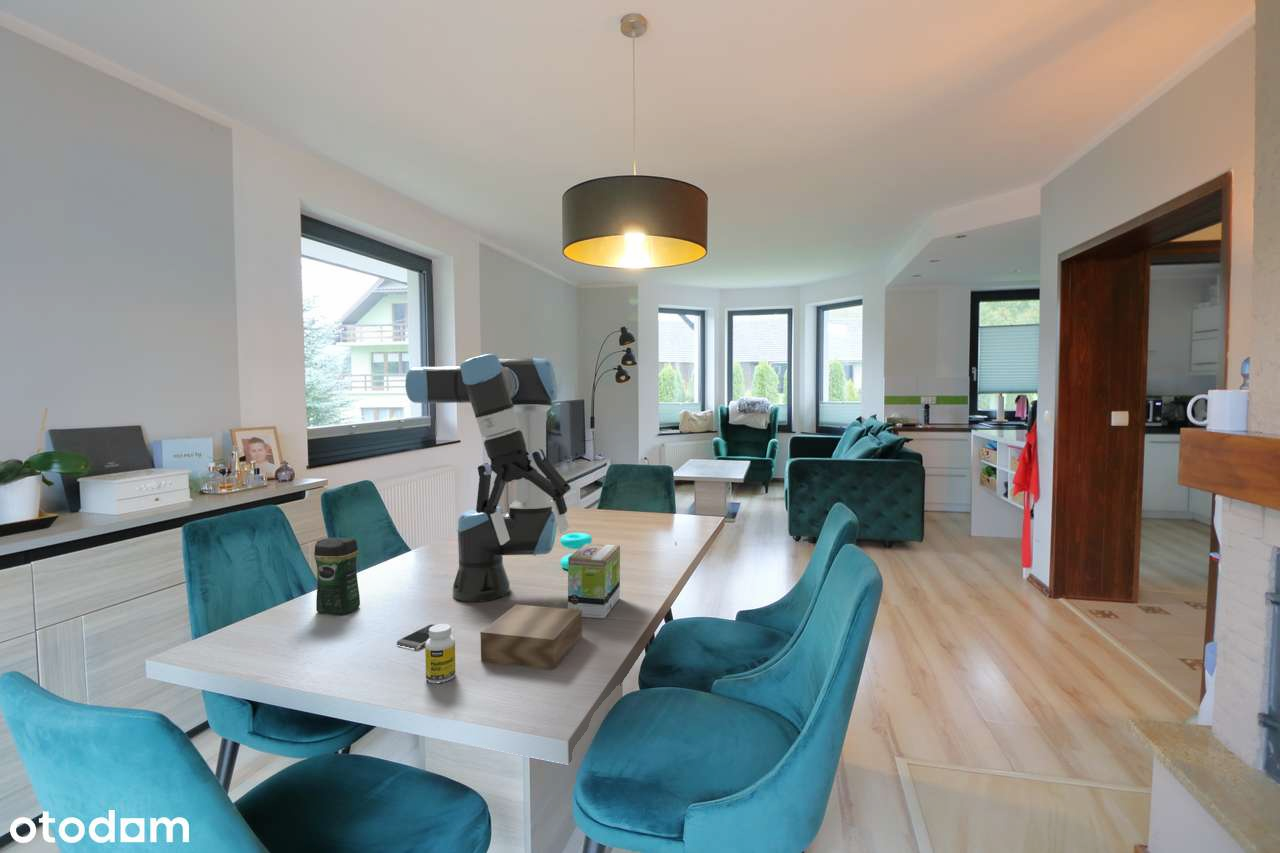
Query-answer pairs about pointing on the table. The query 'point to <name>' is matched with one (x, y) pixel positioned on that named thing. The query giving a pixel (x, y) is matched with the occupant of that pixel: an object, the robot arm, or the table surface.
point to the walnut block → (531, 636)
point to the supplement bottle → (440, 654)
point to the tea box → (594, 579)
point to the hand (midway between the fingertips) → (534, 536)
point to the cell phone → (416, 638)
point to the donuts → (573, 544)
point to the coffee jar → (336, 576)
